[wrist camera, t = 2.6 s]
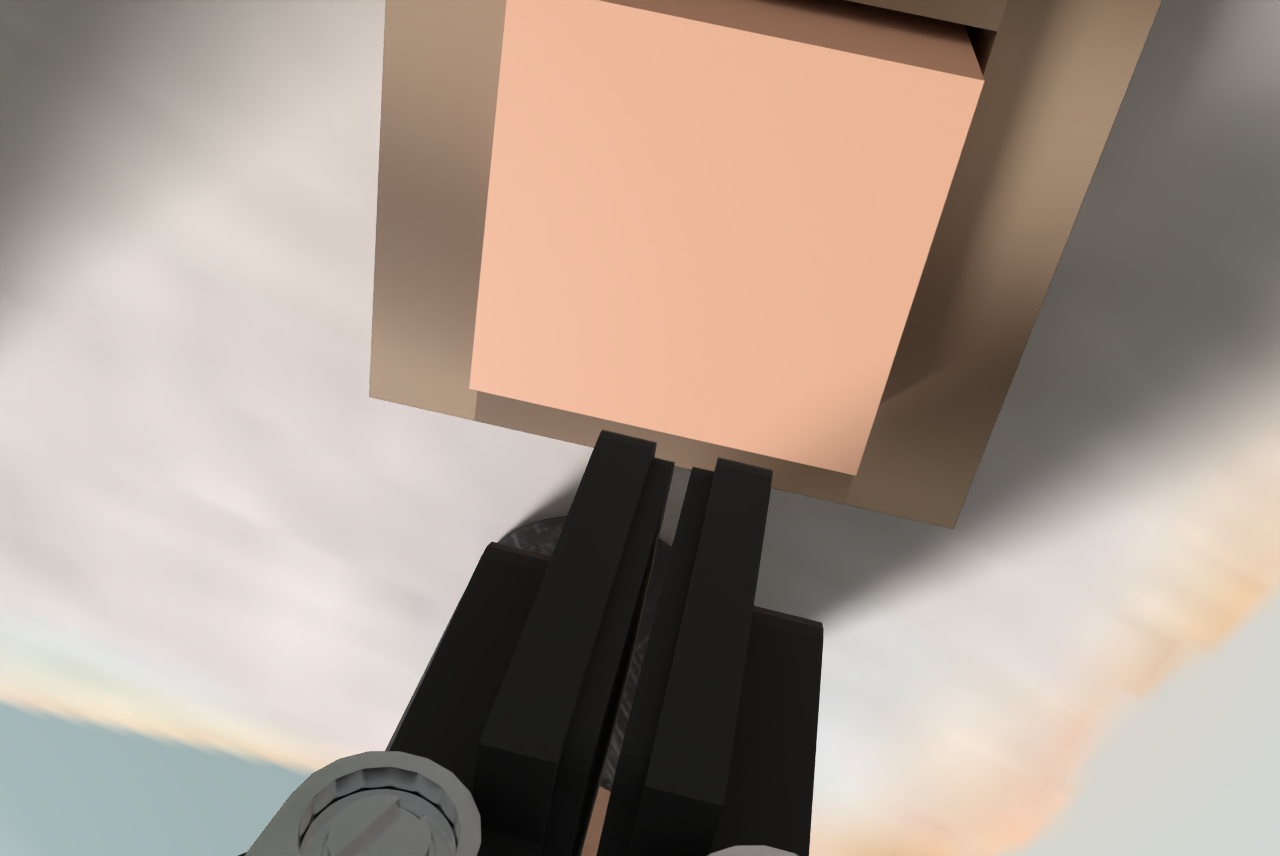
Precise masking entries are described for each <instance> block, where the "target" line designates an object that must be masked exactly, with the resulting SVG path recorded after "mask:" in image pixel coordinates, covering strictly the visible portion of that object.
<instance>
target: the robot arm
mask: <svg viewBox="0 0 1280 856" xmlns="http://www.w3.org/2000/svg"><path fill="white" fill-rule="evenodd" d="M656 447H657V442H653V441H649V440H645V439H640V438H636V437H632V436H628V435H624V434H619V433H615V432H611V431H607V430H602V431H601V432H600V435H599V437H598V439H597V442H596V444H595V447H594V450H593V452H592V455H591V457H590V460H589V462H588V465H587V467H586V470H585V473H584V475H583V478H582V480H581V483H580V485H579V488H578V490H577V493H576V495H575V498H574V501H573V503H572V506H571V508H570V511H569V513H568V516H567V518H566V521H565V524H564V526H563V529H562V531H561V534H560V536H559V539H558V541H557V544H556V547H555V549H554V552H553V554H552V556H548V555H544V554H540V553H536V552H532V551H528V550H523V549H519V548H515V547H511V546H507V545H503V544H499V543H495V542H491V543H490V544H489V545H488V546H487V547H486V549H485V551H484V553H483V555H482V556H481V558H480V560H479V563H478V565H477V567H476V569H475V571H474V573H473V575H472V577H471V579H470V582H469V584H468V586H467V588H466V590H465V592H464V594H463V596H462V599H461V601H460V603H459V605H458V607H457V609H456V611H455V613H454V615H453V618H452V620H451V622H450V624H449V626H448V628H447V630H446V632H445V634H444V637H443V639H442V641H441V643H440V645H439V647H438V649H437V651H436V653H435V656H434V658H433V660H432V662H431V664H430V666H429V668H428V670H427V672H426V675H425V677H424V679H423V681H422V683H421V685H420V687H419V689H418V691H417V694H416V696H415V698H414V700H413V702H412V704H411V706H410V708H409V710H408V713H407V715H406V717H405V719H404V721H403V723H402V725H401V727H400V729H399V732H398V734H397V736H396V738H395V740H394V742H393V744H392V746H391V748H390V751H369V752H365V753H361V754H357V755H353V756H349V757H345V758H341V759H338V760H336V761H335V762H333V763H331V764H329V765H327V766H325V767H324V768H322V769H320V770H318V771H316V772H314V773H313V774H311V775H310V776H309V777H308V778H307V779H306V780H305V781H304V782H303V783H302V784H301V785H300V786H299V787H298V788H297V789H296V790H295V791H294V792H293V793H292V794H291V795H290V796H289V798H288V799H287V800H286V802H285V803H284V804H283V806H282V807H281V808H280V810H279V811H278V812H277V814H276V815H275V816H274V817H273V819H272V820H271V821H270V823H269V824H268V825H267V827H266V828H265V829H264V831H263V832H262V833H261V834H260V836H259V837H258V839H257V840H256V841H255V842H254V844H253V845H252V846H251V848H250V849H249V850H248V852H246V853H244V854H241V855H239V856H581V854H582V851H583V847H584V843H585V839H586V835H587V832H588V828H589V824H590V820H591V817H592V813H593V809H594V805H595V801H596V798H597V794H598V790H599V786H600V783H601V779H602V775H603V771H604V767H605V764H606V760H607V756H608V752H609V749H610V745H611V741H612V737H613V733H614V730H615V726H616V722H617V718H618V714H619V711H620V707H621V703H622V699H623V695H624V692H625V688H626V684H627V679H628V675H629V671H630V667H631V662H632V658H633V653H634V649H635V644H636V640H637V635H638V631H639V626H640V621H641V617H642V612H643V608H644V603H645V599H646V594H647V589H648V585H649V580H650V576H651V571H652V567H653V562H654V557H655V553H656V548H657V544H658V539H659V535H660V530H661V525H662V521H663V516H664V512H665V507H666V503H667V498H668V493H669V489H670V484H671V480H672V475H673V470H674V465H675V462H672V461H668V460H664V459H660V458H655V453H656ZM772 476H773V470H771V469H767V468H762V467H758V466H754V465H750V464H746V463H741V462H737V461H733V460H729V459H725V458H720V457H718V459H717V462H716V466H715V470H714V471H710V470H706V469H702V468H697V467H692V471H691V475H690V479H689V483H688V487H687V490H686V494H685V498H684V502H683V506H682V510H681V514H680V518H679V522H678V526H677V530H676V534H675V538H674V542H673V546H672V550H671V554H670V558H669V562H668V565H667V569H666V573H665V577H664V581H663V585H662V589H661V593H660V597H659V601H658V605H657V609H656V613H655V617H654V621H653V625H652V629H651V633H650V637H649V640H648V644H647V648H646V652H645V656H644V660H643V664H642V668H641V672H640V676H639V680H638V684H637V688H636V692H635V696H634V700H633V704H632V708H631V712H630V715H629V719H628V723H627V727H626V731H625V735H624V739H623V743H622V747H621V751H620V755H619V759H618V763H617V767H616V772H615V776H614V780H613V784H612V788H611V793H610V797H609V801H608V806H607V810H606V815H605V819H604V824H603V828H602V833H601V837H600V841H599V846H598V850H597V855H596V856H809V844H810V829H811V814H812V800H813V785H814V770H815V755H816V740H817V726H818V711H819V696H820V681H821V666H822V651H823V625H822V623H821V622H817V621H813V620H809V619H805V618H801V617H797V616H793V615H788V614H784V613H780V612H776V611H772V610H768V609H764V608H760V607H756V606H754V599H755V592H756V585H757V578H758V572H759V565H760V558H761V551H762V544H763V538H764V531H765V524H766V517H767V511H768V504H769V497H770V490H771V483H772Z"/></svg>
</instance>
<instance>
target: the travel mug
mask: <svg viewBox="0 0 1280 856" xmlns="http://www.w3.org/2000/svg"><path fill="white" fill-rule="evenodd" d="M566 518H567V517H561V518H554V519H548V520H544V521H540V522H536V523H533V524H530V525H528V526H525V527H523V528H520V529H518V530H517V531H515V532H513V533H511V534H510V535H508V536H507V537H505V538H504V539H503V540H501V541H500V542H499V544H503V545H507V546H511V547H515V548H519V549H523V550H528V551H532V552H536V553H540V554H544V555H548V556H552V554H553V552H554V549H555V547H556V544H557V541H558V539H559V536H560V534H561V531H562V529H563V526H564V524H565V521H566ZM671 550H672V548H671V547H670V546H668V545H667V544H666V543H664V542H663V541H661V540H659V539H658V544H657V548H656V553H655V557H654V562H653V567H652V571H651V576H650V580H649V585H648V589H647V594H646V599H645V603H644V608H643V612H642V617H641V621H640V626H639V631H638V635H637V640H636V644H635V649H634V653H633V658H632V662H631V667H630V671H629V675H628V679H627V684H626V688H625V692H624V695H623V699H622V703H621V707H620V711H619V714H618V718H617V722H616V726H615V730H614V733H613V737H612V741H611V745H610V749H609V752H608V756H607V760H606V764H605V767H604V771H603V775H602V779H601V783H600V786H599V790H598V794H597V798H596V801H595V805H594V809H593V813H592V817H591V820H590V824H589V828H588V832H587V835H586V839H585V843H584V847H583V851H582V854H581V856H596V855H597V850H598V846H599V841H600V837H601V833H602V828H603V824H604V819H605V815H606V810H607V806H608V801H609V797H610V793H611V788H612V784H613V780H614V776H615V772H616V767H617V763H618V759H619V755H620V751H621V747H622V743H623V739H624V735H625V731H626V727H627V723H628V719H629V715H630V712H631V708H632V704H633V700H634V696H635V692H636V688H637V684H638V680H639V676H640V672H641V668H642V664H643V660H644V656H645V652H646V648H647V644H648V640H649V637H650V633H651V629H652V625H653V621H654V617H655V613H656V609H657V605H658V601H659V597H660V593H661V589H662V585H663V581H664V577H665V573H666V569H667V565H668V562H669V558H670V554H671ZM461 599H462V597H461ZM461 599H460V601H461ZM460 601H459V603H460ZM459 603H458V605H459ZM458 605H457V607H458ZM457 607H456V609H457ZM456 609H455V611H456ZM455 611H454V613H455ZM454 613H453V615H454ZM453 615H452V617H451V619H450V621H449V623H448V625H447V627H446V629H445V631H444V633H443V635H442V637H441V639H440V641H439V643H438V646H437V648H436V650H435V652H434V654H433V656H432V658H431V660H430V662H429V664H428V666H427V668H426V670H425V672H424V674H423V676H422V678H421V680H420V682H419V684H418V686H417V688H416V690H415V692H414V694H413V696H412V698H411V700H410V702H409V704H408V706H407V708H406V710H405V712H404V714H403V716H402V718H401V720H400V722H399V724H398V726H397V728H396V730H395V732H394V734H393V736H392V738H391V740H390V742H389V744H388V746H387V748H386V750H385V751H390V748H391V746H392V744H393V742H394V740H395V738H396V736H397V734H398V732H399V729H400V727H401V725H402V723H403V721H404V719H405V717H406V715H407V713H408V710H409V708H410V706H411V704H412V702H413V700H414V698H415V696H416V694H417V691H418V689H419V687H420V685H421V683H422V681H423V679H424V677H425V675H426V672H427V670H428V668H429V666H430V664H431V662H432V660H433V658H434V656H435V653H436V651H437V649H438V647H439V645H440V643H441V641H442V639H443V637H444V634H445V632H446V630H447V628H448V626H449V624H450V622H451V620H452V618H453Z"/></svg>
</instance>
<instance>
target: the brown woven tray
mask: <svg viewBox="0 0 1280 856" xmlns="http://www.w3.org/2000/svg"><path fill="white" fill-rule="evenodd" d="M847 1H852V2H857V3H862V4H867V5H872V6H876V7H881V8H886V9H891V10H896V11H901V12H906V13H910V14H915V15H920V16H925V17H930V18H935V19H939V20H944V21H949V22H954V23H959V24H964V25H965V28H966V30H967V33H968V36H969V39H970V42H971V44H972V47H973V50H974V53H975V56H976V58H977V61H978V64H979V67H980V69H981V72H982V75H983V78H984V84H983V87H982V90H981V93H980V96H979V99H978V102H977V106H976V109H975V112H974V115H973V118H972V121H971V124H970V127H969V130H968V133H967V136H966V139H965V142H964V145H963V149H962V152H961V155H960V158H959V161H958V164H957V167H956V170H955V173H954V176H953V179H952V182H951V185H950V188H949V192H948V195H947V198H946V201H945V204H944V207H943V210H942V213H941V216H940V219H939V222H938V225H937V228H936V231H935V235H934V238H933V241H932V244H931V247H930V250H929V253H928V256H927V259H926V262H925V265H924V268H923V271H922V274H921V278H920V281H919V284H918V287H917V290H916V293H915V296H914V299H913V302H912V305H911V308H910V311H909V314H908V317H907V321H906V324H905V327H904V330H903V333H902V336H901V339H900V342H899V345H898V348H897V351H896V354H895V357H894V360H893V364H892V367H891V370H890V373H889V376H888V379H887V382H886V385H885V388H884V391H883V394H882V397H881V400H880V403H879V407H878V410H877V413H876V416H875V419H874V422H873V425H872V428H871V431H870V434H869V437H868V440H867V443H866V446H865V450H864V453H863V456H862V459H861V462H860V465H859V468H858V471H857V474H856V476H855V475H851V474H846V473H842V472H837V471H833V470H828V469H824V468H819V467H815V466H811V465H806V464H802V463H797V462H793V461H788V460H784V459H779V458H775V457H770V456H766V455H762V454H757V453H753V452H748V451H744V450H739V449H735V448H730V447H726V446H722V445H717V444H713V443H708V442H704V441H699V440H695V439H690V438H686V437H681V436H677V435H673V434H668V433H664V432H659V431H655V430H650V429H646V428H641V427H637V426H633V425H628V424H624V423H619V422H615V421H610V420H606V419H601V418H597V417H593V416H588V415H584V414H579V413H575V412H570V411H566V410H561V409H557V408H552V407H548V406H544V405H539V404H535V403H530V402H526V401H521V400H517V399H512V398H508V397H504V396H499V395H495V394H490V393H486V392H481V391H477V390H472V389H469V385H470V375H471V364H472V354H473V344H474V333H475V323H476V313H477V302H478V292H479V281H480V271H481V261H482V250H483V240H484V230H485V219H486V209H487V199H488V188H489V178H490V168H491V157H492V147H493V136H494V126H495V116H496V105H497V95H498V85H499V74H500V64H501V54H502V43H503V33H504V22H505V12H506V2H507V0H386V6H385V30H384V54H383V78H382V102H381V126H380V150H379V174H378V198H377V222H376V246H375V270H374V294H373V318H372V342H371V366H370V390H369V397H372V398H376V399H381V400H385V401H389V402H394V403H398V404H403V405H407V406H412V407H416V408H420V409H425V410H429V411H434V412H438V413H442V414H447V415H451V416H456V417H460V418H465V419H469V420H473V421H478V422H482V423H487V424H491V425H496V426H500V427H504V428H509V429H513V430H518V431H522V432H527V433H531V434H535V435H540V436H544V437H549V438H553V439H558V440H562V441H566V442H571V443H575V444H580V445H584V446H589V447H593V448H594V447H595V444H596V442H597V439H598V437H599V435H600V432H601V431H602V430H607V431H611V432H615V433H619V434H624V435H628V436H632V437H636V438H640V439H645V440H649V441H653V442H657V447H656V453H655V458H660V459H664V460H668V461H672V462H675V465H674V466H677V467H681V468H686V469H690V470H692V467H697V468H702V469H706V470H710V471H714V470H715V466H716V462H717V459H718V457H720V458H725V459H729V460H733V461H737V462H741V463H746V464H750V465H754V466H758V467H762V468H767V469H771V470H773V476H772V483H771V488H774V489H779V490H783V491H788V492H792V493H797V494H801V495H805V496H810V497H814V498H819V499H823V500H827V501H832V502H836V503H841V504H845V505H850V506H854V507H858V508H863V509H867V510H872V511H876V512H881V513H885V514H889V515H894V516H898V517H903V518H907V519H912V520H916V521H920V522H925V523H929V524H934V525H938V526H943V527H947V528H951V529H954V526H955V524H956V521H957V519H958V516H959V514H960V511H961V508H962V506H963V503H964V501H965V498H966V496H967V493H968V491H969V488H970V486H971V483H972V481H973V478H974V475H975V473H976V470H977V468H978V465H979V463H980V460H981V458H982V455H983V453H984V450H985V448H986V445H987V442H988V440H989V437H990V435H991V432H992V430H993V427H994V425H995V422H996V420H997V417H998V415H999V412H1000V410H1001V407H1002V404H1003V402H1004V399H1005V397H1006V394H1007V392H1008V389H1009V387H1010V384H1011V382H1012V379H1013V377H1014V374H1015V371H1016V369H1017V366H1018V364H1019V361H1020V359H1021V356H1022V354H1023V351H1024V349H1025V346H1026V344H1027V341H1028V338H1029V336H1030V333H1031V331H1032V328H1033V326H1034V323H1035V321H1036V318H1037V316H1038V313H1039V311H1040V308H1041V305H1042V303H1043V300H1044V298H1045V295H1046V293H1047V290H1048V288H1049V285H1050V283H1051V280H1052V278H1053V275H1054V273H1055V270H1056V267H1057V265H1058V262H1059V260H1060V257H1061V255H1062V252H1063V250H1064V247H1065V245H1066V242H1067V240H1068V237H1069V234H1070V232H1071V229H1072V227H1073V224H1074V222H1075V219H1076V217H1077V214H1078V212H1079V209H1080V207H1081V204H1082V201H1083V199H1084V196H1085V194H1086V191H1087V189H1088V186H1089V184H1090V181H1091V179H1092V176H1093V174H1094V171H1095V168H1096V166H1097V163H1098V161H1099V158H1100V156H1101V153H1102V151H1103V148H1104V146H1105V143H1106V141H1107V138H1108V136H1109V133H1110V130H1111V128H1112V125H1113V123H1114V120H1115V118H1116V115H1117V113H1118V110H1119V108H1120V105H1121V103H1122V100H1123V97H1124V95H1125V92H1126V90H1127V87H1128V85H1129V82H1130V80H1131V77H1132V75H1133V72H1134V70H1135V67H1136V64H1137V62H1138V59H1139V57H1140V54H1141V52H1142V49H1143V47H1144V44H1145V42H1146V39H1147V37H1148V34H1149V31H1150V29H1151V26H1152V24H1153V21H1154V19H1155V16H1156V14H1157V11H1158V9H1159V6H1160V4H1161V1H1162V0H847Z"/></svg>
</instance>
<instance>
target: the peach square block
mask: <svg viewBox="0 0 1280 856" xmlns="http://www.w3.org/2000/svg"><path fill="white" fill-rule="evenodd" d="M983 84H984V78H983V75H982V72H981V69H980V67H979V64H978V61H977V58H976V56H975V53H974V50H973V47H972V44H971V42H970V39H969V36H968V33H967V30H966V28H965V25H964V24H959V23H954V22H949V21H944V20H939V19H935V18H930V17H925V16H920V15H915V14H910V13H906V12H901V11H896V10H891V9H886V8H881V7H876V6H872V5H867V4H862V3H857V2H852V1H847V0H507V2H506V12H505V22H504V33H503V43H502V54H501V64H500V74H499V85H498V95H497V105H496V116H495V126H494V136H493V147H492V157H491V168H490V178H489V188H488V199H487V209H486V219H485V230H484V240H483V250H482V261H481V271H480V281H479V292H478V302H477V313H476V323H475V333H474V344H473V354H472V364H471V375H470V385H469V389H472V390H477V391H481V392H486V393H490V394H495V395H499V396H504V397H508V398H512V399H517V400H521V401H526V402H530V403H535V404H539V405H544V406H548V407H552V408H557V409H561V410H566V411H570V412H575V413H579V414H584V415H588V416H593V417H597V418H601V419H606V420H610V421H615V422H619V423H624V424H628V425H633V426H637V427H641V428H646V429H650V430H655V431H659V432H664V433H668V434H673V435H677V436H681V437H686V438H690V439H695V440H699V441H704V442H708V443H713V444H717V445H722V446H726V447H730V448H735V449H739V450H744V451H748V452H753V453H757V454H762V455H766V456H770V457H775V458H779V459H784V460H788V461H793V462H797V463H802V464H806V465H811V466H815V467H819V468H824V469H828V470H833V471H837V472H842V473H846V474H851V475H855V476H856V474H857V471H858V468H859V465H860V462H861V459H862V456H863V453H864V450H865V446H866V443H867V440H868V437H869V434H870V431H871V428H872V425H873V422H874V419H875V416H876V413H877V410H878V407H879V403H880V400H881V397H882V394H883V391H884V388H885V385H886V382H887V379H888V376H889V373H890V370H891V367H892V364H893V360H894V357H895V354H896V351H897V348H898V345H899V342H900V339H901V336H902V333H903V330H904V327H905V324H906V321H907V317H908V314H909V311H910V308H911V305H912V302H913V299H914V296H915V293H916V290H917V287H918V284H919V281H920V278H921V274H922V271H923V268H924V265H925V262H926V259H927V256H928V253H929V250H930V247H931V244H932V241H933V238H934V235H935V231H936V228H937V225H938V222H939V219H940V216H941V213H942V210H943V207H944V204H945V201H946V198H947V195H948V192H949V188H950V185H951V182H952V179H953V176H954V173H955V170H956V167H957V164H958V161H959V158H960V155H961V152H962V149H963V145H964V142H965V139H966V136H967V133H968V130H969V127H970V124H971V121H972V118H973V115H974V112H975V109H976V106H977V102H978V99H979V96H980V93H981V90H982V87H983Z"/></svg>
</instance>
